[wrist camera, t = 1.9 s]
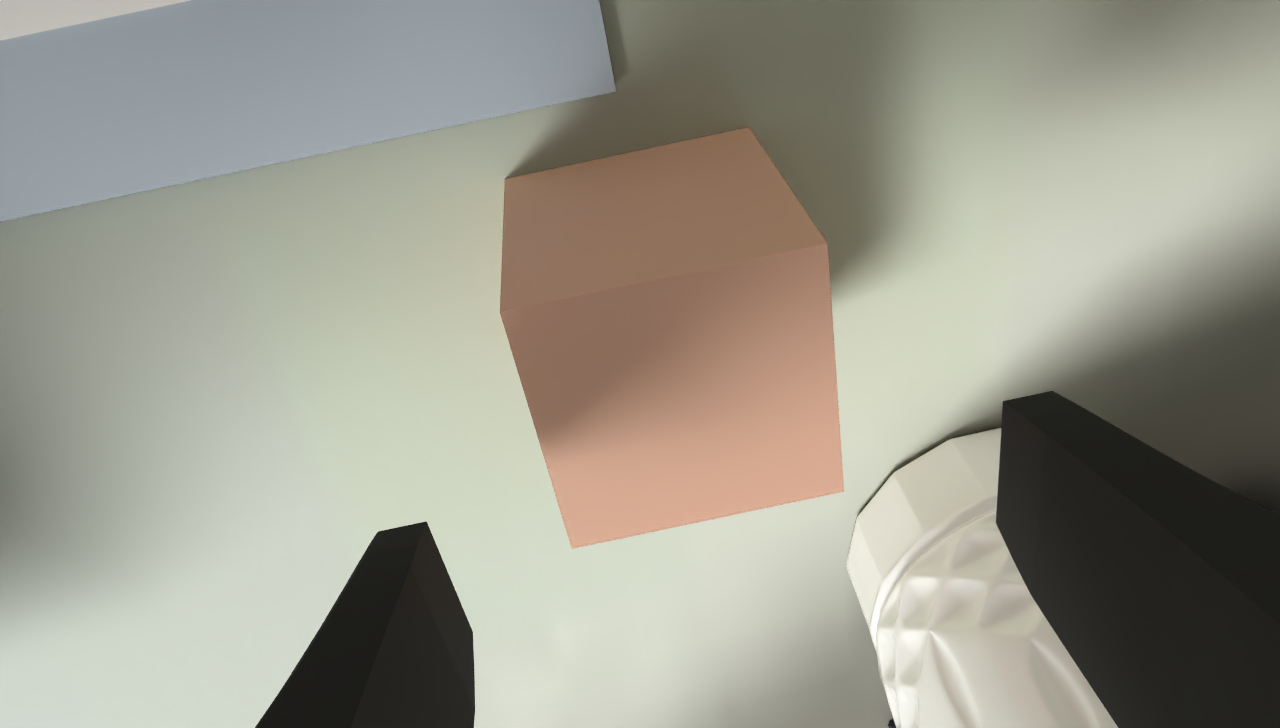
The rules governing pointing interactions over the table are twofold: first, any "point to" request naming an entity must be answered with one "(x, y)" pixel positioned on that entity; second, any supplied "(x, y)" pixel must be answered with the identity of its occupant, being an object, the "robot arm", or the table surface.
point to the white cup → (959, 603)
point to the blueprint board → (262, 83)
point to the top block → (672, 336)
